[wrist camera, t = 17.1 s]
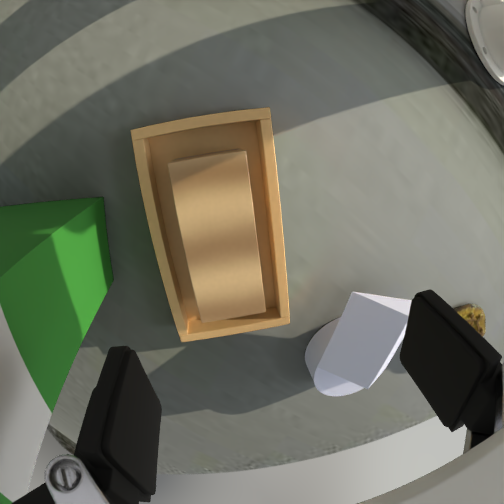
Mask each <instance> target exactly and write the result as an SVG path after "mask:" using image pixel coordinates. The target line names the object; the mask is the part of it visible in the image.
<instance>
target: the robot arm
mask: <svg viewBox="0 0 504 504" xmlns="http://www.w3.org/2000/svg"><path fill="white" fill-rule="evenodd" d="M465 16H466V23H467V27H468V32H469V35H470V38H471V41H472V43H473V45H474V48H475V50H476V52H477V54H478V56H479V58H480V60H481V62H482V63H483V65H484V66H485V68H486V69H487V71H488V72H489V73H490V75H491V76H492V77H493V78H494V79H495V80H496V81H497V82H498V83H500V84H501V85H503V86H504V0H468V2H467V4H466V10H465ZM501 358H502V356H501V355H500V354H499V353H498V352H497V351H496V350H495V349H494V348H493V347H492V346H491V345H490V344H489V343H488V342H487V341H486V340H485V339H484V338H483V337H482V336H481V335H480V334H479V333H478V332H477V331H476V330H475V329H474V328H473V327H472V326H471V325H470V324H469V323H468V322H467V321H466V320H465V319H464V318H463V317H462V316H460V315H459V314H458V313H457V312H456V311H455V310H454V309H453V308H452V307H451V306H450V305H448V304H447V303H446V302H445V301H444V300H443V299H442V298H441V297H440V296H438V295H437V294H436V293H435V292H434V291H432V290H426V291H423V292H419V293H417V294H416V295H415V297H414V299H412V301H411V306H410V311H409V316H408V321H407V326H406V331H405V335H404V339H403V344H402V348H401V352H400V361H401V363H402V365H403V366H404V367H405V369H406V370H407V372H408V373H409V375H410V376H411V377H412V379H413V380H414V382H415V383H416V385H417V386H418V388H419V389H420V391H421V392H422V393H423V395H424V396H425V398H426V399H427V401H428V402H429V404H430V405H431V407H432V408H433V410H434V411H435V413H436V414H437V416H438V417H439V419H440V420H441V422H442V423H443V425H444V426H446V427H449V429H450V430H451V432H453V431H455V430H457V429H458V428H460V427H462V426H463V425H464V424H465V426H466V427H467V433H466V439H465V446H464V452H463V455H461V456H459V457H458V458H456V459H454V460H453V461H451V462H449V463H447V464H445V465H444V466H442V467H440V468H438V469H436V470H434V471H432V472H431V473H429V474H427V475H425V476H423V477H421V478H419V479H417V480H414V481H412V482H410V483H408V484H406V485H403V486H401V487H399V488H397V489H394V490H392V491H390V492H387V493H385V494H382V495H379V496H377V497H374V498H372V499H369V500H366V501H364V502H360V503H357V504H504V363H503V364H501V363H500V360H501ZM161 411H162V410H161V404H160V401H159V399H158V397H157V395H156V393H155V391H154V389H153V387H152V385H151V383H150V381H149V379H148V377H147V375H146V373H145V371H144V369H143V367H142V365H141V362H140V360H139V358H138V356H137V354H136V352H135V350H130V348H129V347H128V346H118V347H111V348H110V349H109V352H108V354H107V357H106V360H105V363H104V366H103V369H102V371H101V374H100V377H99V380H98V383H97V386H96V387H95V388H94V390H93V392H92V395H91V398H90V401H89V404H88V407H87V410H86V414H85V417H84V420H83V424H82V427H81V431H80V434H79V438H78V441H77V445H76V449H75V453H74V456H73V455H69V454H66V455H60V456H57V457H55V458H54V459H52V460H51V461H50V462H49V464H48V465H47V467H46V471H45V483H44V484H42V485H41V486H39V487H37V488H36V489H34V490H33V491H31V492H29V493H28V494H26V495H24V496H23V497H21V498H19V499H18V500H16V501H14V502H13V503H12V504H139V501H140V502H150V499H151V495H154V494H155V491H156V474H157V458H158V445H159V433H160V422H161Z"/></svg>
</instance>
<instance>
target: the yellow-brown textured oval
mask: <svg viewBox="0 0 504 504" xmlns="http://www.w3.org/2000/svg"><path fill="white" fill-rule="evenodd" d="M454 310H455V311H456V312H457V313H458V314H459V315H460V316H462V317H463V318H464V319H465V320H466V321H467V322H468V323H469V324H470V325H471V326H472V327H473V328H474V329H475V330H476V331H477V332H478V333H479V334H480V335H481V336H482V337H483V335H484V334H485V314H484V311H483V309H482V308H480V307H479V306H477V305H474V304H467V305H464V306H460V307H456V308H454Z"/></svg>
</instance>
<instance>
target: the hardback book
mask: <svg viewBox="0 0 504 504" xmlns="http://www.w3.org/2000/svg"><path fill="white" fill-rule="evenodd" d="M113 280H114V279H113V273H112V267H111V260H110V253H109V246H108V238H107V229H106V220H105V210H104V198H103V197H96V198H83V199H70V200H59V201H48V202H38V203H29V204H20V205H12V206H4V207H0V504H12V503H13V502H14V501H16V500H18V499H19V498H21V497H23V496H24V495H26V494H27V493H28V489H29V485H30V481H31V477H32V474H33V470H34V467H35V463H36V460H37V456H38V453H39V450H40V447H41V444H42V440H43V438H44V435H45V432H46V429H47V426H48V423H49V420H50V418H51V415H52V412H53V410H54V407H55V404H56V402H57V399H58V397H59V394H60V392H61V389H62V387H63V384H64V382H65V379H66V377H67V375H68V372H69V370H70V368H71V365H72V363H73V361H74V359H75V356H76V354H77V352H78V350H79V348H80V346H81V343H82V341H83V339H84V337H85V335H86V333H87V331H88V329H89V327H90V325H91V323H92V321H93V319H94V317H95V315H96V313H97V311H98V309H99V307H100V305H101V303H102V301H103V299H104V297H105V295H106V293H107V292H108V290H109V288H110V286H111V284H112V282H113Z"/></svg>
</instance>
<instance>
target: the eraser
mask: <svg viewBox="0 0 504 504" xmlns="http://www.w3.org/2000/svg"><path fill="white" fill-rule="evenodd" d="M168 170H169V176H170V181H171V187H172V192H173V198H174V203H175V208H176V213H177V218H178V223H179V228H180V233H181V238H182V242H183V247H184V251H185V256H186V260H187V265H188V269H189V273H190V278H191V282H192V286H193V290H194V294H195V298H196V302H197V306H198V310H199V314H200V318H201V322H202V323H206V322H212V321H218V320H224V319H230V318H236V317H241V316H247V315H252V314H258V313H263V312H266V308H265V300H264V291H263V283H262V275H261V267H260V258H259V250H258V242H257V234H256V226H255V218H254V210H253V202H252V194H251V186H250V178H249V171H248V163H247V155H246V151H245V150H242V149H231V150H225V151H218V152H212V153H206V154H200V155H194V156H188V157H183V158H177V159H174V160H172V161H171V162H169V163H168Z"/></svg>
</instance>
